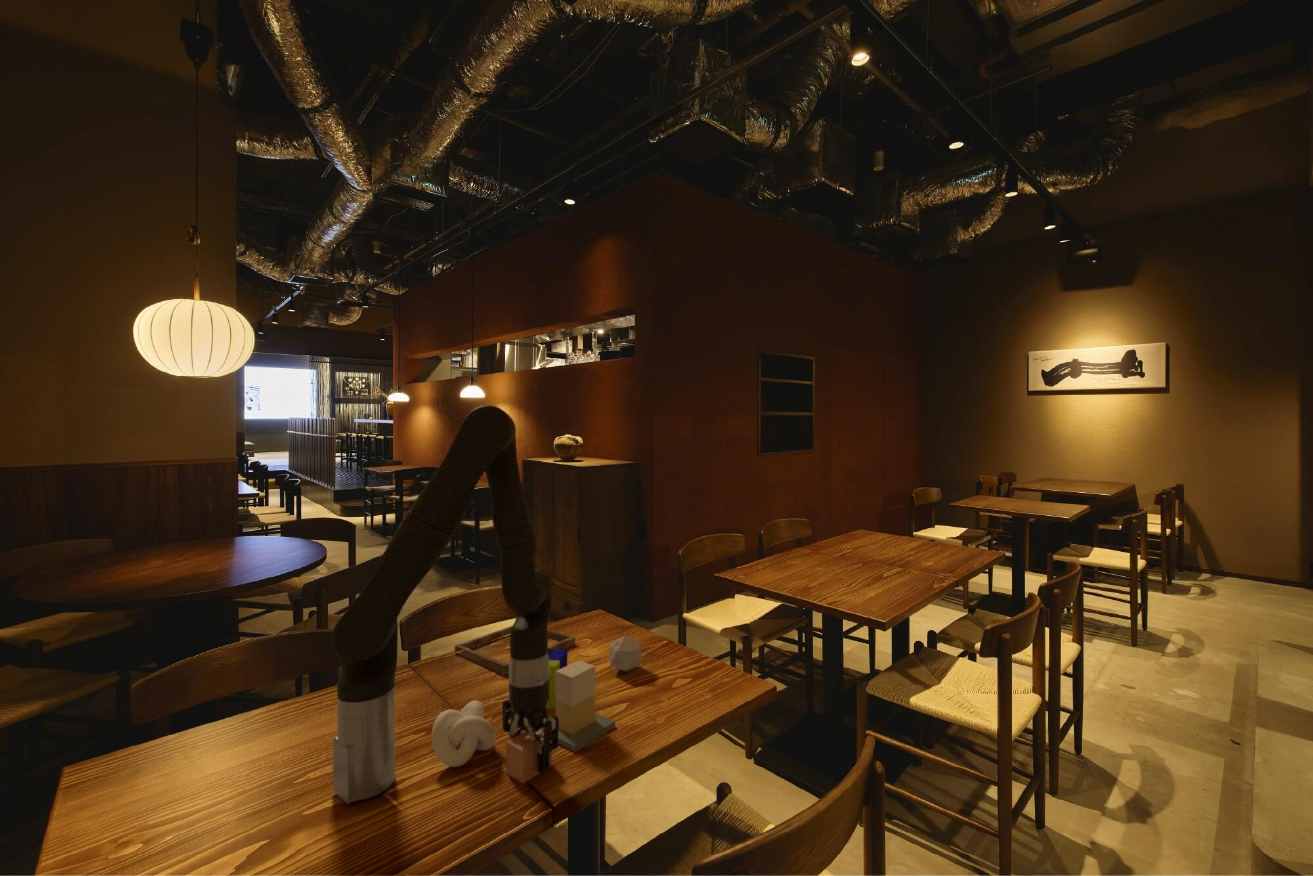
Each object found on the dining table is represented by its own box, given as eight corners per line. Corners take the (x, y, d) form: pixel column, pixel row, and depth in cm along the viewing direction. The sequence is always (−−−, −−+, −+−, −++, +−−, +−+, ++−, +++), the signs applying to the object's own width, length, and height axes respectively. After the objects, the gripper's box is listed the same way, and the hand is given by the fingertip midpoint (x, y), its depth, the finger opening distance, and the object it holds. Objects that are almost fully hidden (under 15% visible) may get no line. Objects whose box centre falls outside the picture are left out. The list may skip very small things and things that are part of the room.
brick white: (571, 706, 112) (571, 677, 112) (555, 699, 115) (555, 671, 115) (595, 693, 118) (595, 666, 118) (579, 687, 121) (579, 660, 121)
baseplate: (575, 752, 108) (575, 746, 108) (535, 732, 115) (535, 726, 115) (615, 726, 118) (615, 721, 118) (576, 709, 125) (576, 704, 125)
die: (604, 669, 147) (604, 632, 147) (635, 663, 151) (634, 627, 151) (615, 682, 139) (615, 643, 139) (647, 675, 143) (647, 638, 143)
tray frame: (504, 677, 142) (504, 666, 142) (454, 655, 156) (454, 645, 156) (575, 647, 162) (575, 637, 162) (525, 630, 176) (525, 621, 176)
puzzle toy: (567, 689, 135) (567, 649, 135) (556, 709, 125) (555, 666, 125) (528, 687, 136) (528, 648, 136) (514, 707, 126) (514, 665, 126)
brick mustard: (571, 735, 112) (571, 706, 112) (555, 727, 115) (555, 699, 115) (595, 720, 118) (595, 693, 118) (579, 713, 121) (579, 687, 121)
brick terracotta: (523, 784, 99) (523, 751, 99) (506, 773, 102) (506, 741, 102) (552, 765, 104) (552, 734, 104) (535, 756, 107) (535, 726, 107)
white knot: (432, 743, 112) (432, 700, 112) (493, 732, 116) (492, 690, 116) (431, 775, 101) (430, 728, 101) (497, 761, 105) (497, 716, 105)
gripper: (489, 673, 104) (490, 759, 104) (538, 695, 96) (539, 788, 96) (521, 660, 110) (521, 741, 110) (569, 679, 101) (570, 767, 102)
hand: (529, 762), depth 103 cm, fingers open, 7 cm apart
